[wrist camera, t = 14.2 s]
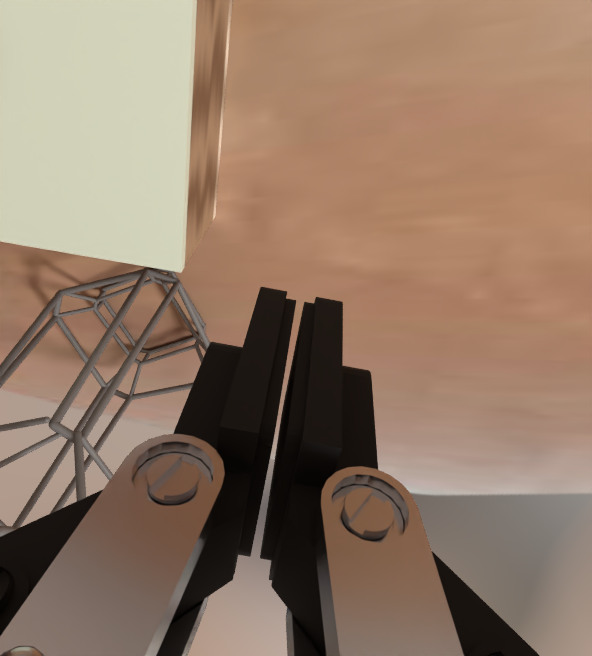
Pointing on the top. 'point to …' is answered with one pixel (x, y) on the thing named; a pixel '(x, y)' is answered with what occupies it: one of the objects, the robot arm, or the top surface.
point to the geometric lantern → (108, 390)
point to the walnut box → (207, 116)
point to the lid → (97, 127)
